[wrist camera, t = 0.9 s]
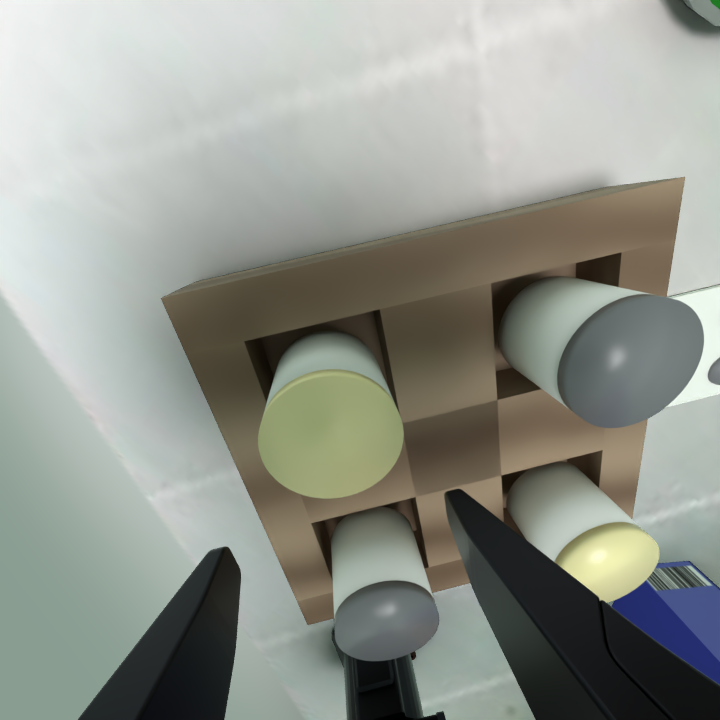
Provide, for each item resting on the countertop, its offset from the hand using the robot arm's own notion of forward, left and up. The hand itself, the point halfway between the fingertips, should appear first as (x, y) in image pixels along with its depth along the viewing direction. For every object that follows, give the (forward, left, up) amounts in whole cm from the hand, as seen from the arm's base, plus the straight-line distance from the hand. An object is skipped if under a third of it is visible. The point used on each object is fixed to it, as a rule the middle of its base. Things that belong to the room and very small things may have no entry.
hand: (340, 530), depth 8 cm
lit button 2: (0, 0, -9) cm, 9 cm away
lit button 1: (-11, -11, -9) cm, 18 cm away
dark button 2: (-11, 0, -9) cm, 14 cm away
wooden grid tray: (-6, -5, -12) cm, 14 cm away
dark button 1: (0, -11, -9) cm, 14 cm away
